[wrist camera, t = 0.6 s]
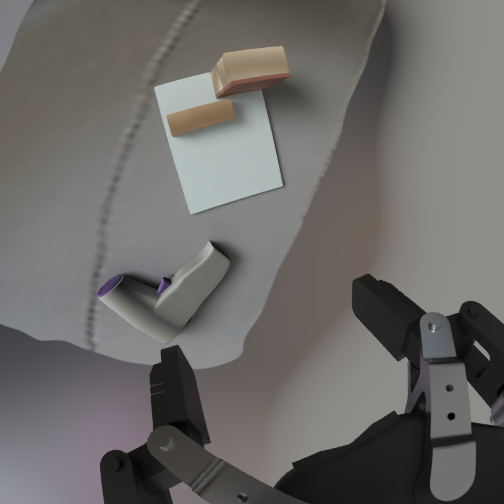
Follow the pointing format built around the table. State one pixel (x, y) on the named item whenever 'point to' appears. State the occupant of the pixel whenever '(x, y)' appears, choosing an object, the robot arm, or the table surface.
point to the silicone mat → (220, 145)
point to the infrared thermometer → (167, 295)
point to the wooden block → (249, 70)
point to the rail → (200, 116)
